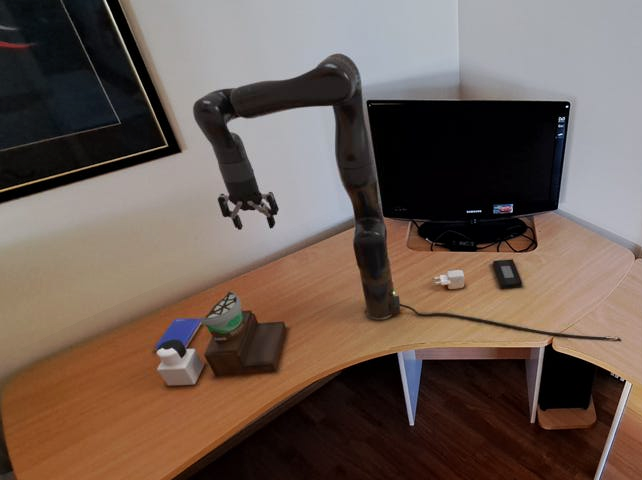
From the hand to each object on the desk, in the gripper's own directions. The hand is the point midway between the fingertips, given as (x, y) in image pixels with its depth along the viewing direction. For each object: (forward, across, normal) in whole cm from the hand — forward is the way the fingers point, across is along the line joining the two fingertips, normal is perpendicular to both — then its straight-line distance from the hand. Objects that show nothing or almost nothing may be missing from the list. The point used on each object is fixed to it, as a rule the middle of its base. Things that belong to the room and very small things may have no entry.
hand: (256, 227), depth 127 cm
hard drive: (+30, -28, -11) cm, 43 cm away
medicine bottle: (+30, -21, -27) cm, 46 cm away
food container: (+21, -7, -20) cm, 30 cm away
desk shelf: (+30, -5, -20) cm, 36 cm away
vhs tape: (+30, +77, +8) cm, 83 cm away
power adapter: (+30, +55, +4) cm, 63 cm away
